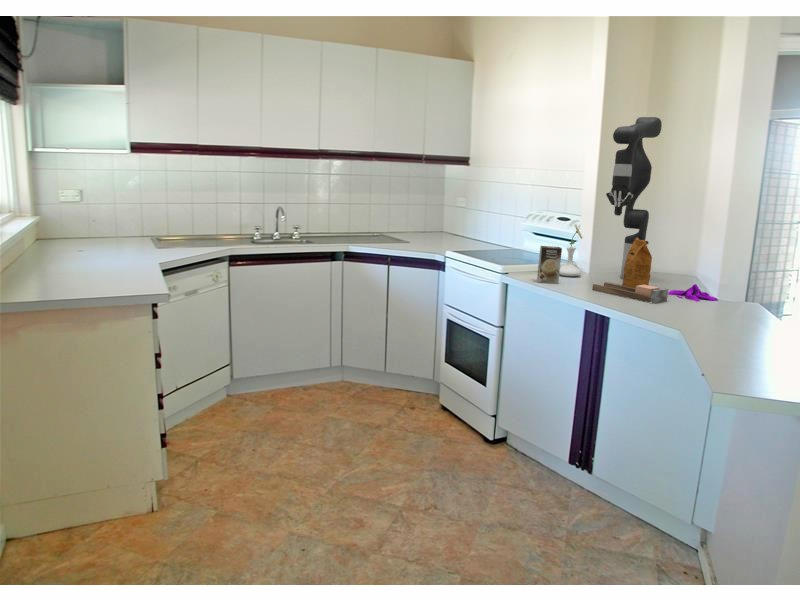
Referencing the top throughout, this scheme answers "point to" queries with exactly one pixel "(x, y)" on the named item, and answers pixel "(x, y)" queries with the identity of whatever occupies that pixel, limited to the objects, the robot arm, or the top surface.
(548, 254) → the coffee box
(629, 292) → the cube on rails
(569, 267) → the flower in vase
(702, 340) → the top surface
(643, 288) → the block
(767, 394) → the top surface
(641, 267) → the coffee package
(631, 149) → the robot arm
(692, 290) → the cloth
